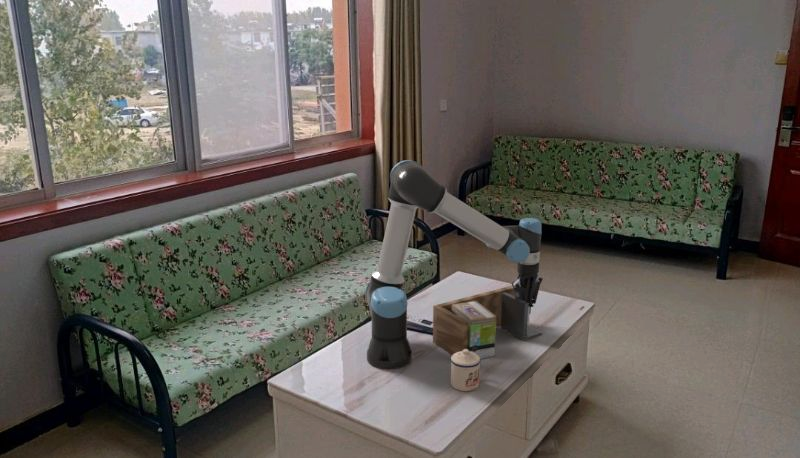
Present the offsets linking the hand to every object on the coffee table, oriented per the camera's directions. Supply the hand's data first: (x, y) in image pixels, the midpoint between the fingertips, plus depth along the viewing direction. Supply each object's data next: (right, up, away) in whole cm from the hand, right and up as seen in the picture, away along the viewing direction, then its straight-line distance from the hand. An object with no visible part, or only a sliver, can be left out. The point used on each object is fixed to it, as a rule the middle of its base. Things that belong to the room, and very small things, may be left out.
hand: (524, 322), depth 231 cm
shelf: (-14, -5, -6) cm, 16 cm away
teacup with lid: (-25, -14, -35) cm, 45 cm away
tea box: (-21, -7, -13) cm, 26 cm away
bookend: (-1, -3, 0) cm, 3 cm away
